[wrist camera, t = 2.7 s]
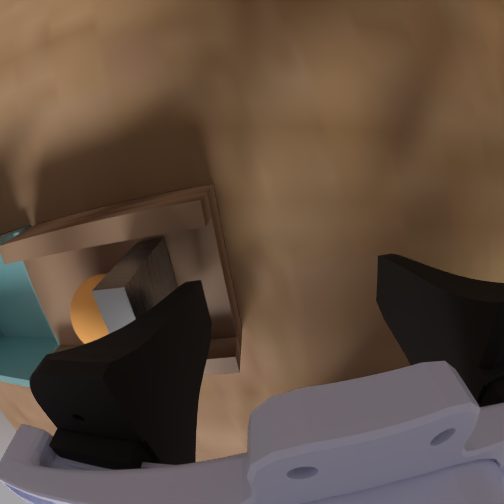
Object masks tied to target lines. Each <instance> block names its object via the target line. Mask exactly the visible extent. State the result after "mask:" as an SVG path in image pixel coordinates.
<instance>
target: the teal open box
mask: <svg viewBox="0 0 504 504" xmlns="http://www.w3.org/2000/svg"><path fill="white" fill-rule="evenodd" d="M29 228H31V226H27V227H24V228H21V229H18V230H14V231H11V232H8V233H5V234H2V235H0V245H1V244H3V243H4V242H6V241H8V240H10V239H11V238H13V237H15V236H16V235H18V234H20V233H22V232H23V231H25V230H27V229H29ZM59 345H60V344H59V342H58V340H57V338H56V336H55V334H54V332H53V330H52V328H51V326H50V324H49V322H48V320H47V318H46V316H45V313H44V311H43V309H42V307H41V305H40V302H39V300H38V298H37V295H36V293H35V290H34V288H33V286H32V283H31V281H30V278H29V275H28V273H27V270H26V267H25V265H24V262H23V261H19V262H14V263H9V264H5V265H4V262H3V259H2V257H1V254H0V381H2V382H6V383H11V384H16V385H21V386H26V387H30V382H29V379H30V377H31V375H32V373H33V372H34V370H35V369H36V368H37V366H38V365H39V364H40V362H41V361H42V360H43V358H44V357H45V356H46V355H47V354H51V353H54V352H55V351H56V349H57V348H58V347H59Z"/></svg>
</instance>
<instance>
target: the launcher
mask: <svg viewBox="0 0 504 504" xmlns="http://www.w3.org/2000/svg"><path fill="white" fill-rule="evenodd" d="M162 237H164V240H165V244H166V248H167V252H168V256H169V260H170V263H171V267H172V271H173V274H174V278H175V282H176V285H177V288H178V287H179V286H180V285H182V284H183V283H185V282H188V281H197V280H201V282H202V286H203V290H204V294H205V298H206V302H207V306H208V310H209V314H210V318H211V322H212V329H211V342H210V348H209V352H208V357H207V361H206V365H205V369H204V374H203V375H214V374H228V373H240V356H241V340H242V326H241V321H240V317H239V312H238V307H237V302H236V297H235V293H234V288H233V283H232V278H231V273H230V268H229V263H228V258H227V253H226V248H225V243H224V238H223V233H222V227H221V222H220V217H219V212H218V206H217V201H216V196H215V190H214V185H213V184H211V185H205V186H200V187H194V188H189V189H184V190H178V191H173V192H168V193H163V194H158V195H153V196H149V197H144V198H139V199H135V200H130V201H126V202H122V203H117V204H113V205H109V206H105V207H100V208H96V209H92V210H88V211H84V212H81V213H77V214H73V215H69V216H65V217H62V218H58V219H54V220H51V221H47V222H44V223H40V224H37V225H34V226H33V227H31V228H29V229H27V230H25V231H23V232H22V233H20V234H18V235H16V236H15V237H13V238H11V239H10V240H8V241H6V242H4V243H3V244H1V245H0V254H1V257H2V259H3V262H4V265H5V264H9V263H14V262H19V261H23V262H24V265H25V267H26V270H27V273H28V275H29V278H30V281H31V283H32V286H33V288H34V290H35V293H36V295H37V298H38V300H39V302H40V305H41V307H42V309H43V311H44V313H45V316H46V318H47V320H48V322H49V324H50V326H51V328H52V330H53V332H54V334H55V336H56V338H57V340H58V342H59V344H60V345H59V347H58V348H57V349H56V351H55V352H59V351H63V350H67V349H71V348H74V347H78V346H81V345H83V344H84V343H83V342H82V341H81V340H80V338H79V337H78V336H77V334H76V332H75V331H74V328H73V325H72V322H71V317H70V307H71V302H72V298H73V296H74V294H75V292H76V290H77V289H78V287H79V286H80V285H81V284H82V283H83V282H84V281H85V280H87V279H88V278H90V277H92V276H95V275H98V274H108V272H109V271H110V270H111V269H112V268H113V267H114V266H115V265H116V264H117V263H118V262H119V261H120V260H121V259H122V258H123V257H124V256H125V255H126V254H127V252H128V251H129V250H130V249H131V248H132V247H133V246H134V245H135V244H136V243H137V242H139V241H145V240H150V239H156V238H162ZM55 352H54V353H55Z"/></svg>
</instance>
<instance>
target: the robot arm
mask: <svg viewBox="0 0 504 504" xmlns="http://www.w3.org/2000/svg"><path fill="white" fill-rule="evenodd" d="M376 301H377V303H378V306H379V308H380V311H381V313H382V315H383V317H384V320H385V321H386V323H387V325H388V326H389V328H390V330H391V331H392V333H393V335H394V336H395V338H396V340H397V341H398V343H399V345H400V346H401V348H402V350H403V351H404V353H405V355H406V357H407V358H408V360H409V362H410V364H411V366H407V367H403V368H399V369H395V370H391V371H387V372H383V373H379V374H374V375H370V376H365V377H361V378H356V379H351V380H346V381H340V382H335V383H329V384H323V385H317V386H311V387H304V388H298V389H295V390H292V391H289V392H285V393H282V394H279V395H275V396H272V397H270V398H269V399H267V400H266V401H265V402H264V403H262V404H261V405H260V406H259V407H257V408H256V409H255V410H254V411H252V412H251V415H250V420H249V425H248V445H247V453H242V454H238V455H233V456H228V457H223V458H218V459H213V460H207V461H201V462H195V452H196V426H197V411H198V400H199V393H200V387H201V382H202V378H203V374H204V369H205V365H206V361H207V357H208V352H209V348H210V342H211V329H212V322H211V318H210V314H209V310H208V306H207V302H206V298H205V294H204V290H203V286H202V282H201V280H197V281H188V282H185V283H183V284H182V285H180V286H179V287H178V288H176V289H175V290H174V291H173V292H171V293H170V294H169V295H168V296H166V297H165V298H164V299H163V300H161V301H160V302H159V303H158V304H156V305H155V306H154V307H152V308H151V309H150V310H148V311H147V312H146V313H144V314H143V315H141V316H140V317H138V318H137V319H135V320H134V321H132V322H131V323H129V324H127V325H125V326H124V327H122V328H120V329H118V330H116V331H114V332H112V333H110V334H108V335H106V336H104V337H101V338H99V339H97V340H94V341H92V342H89V343H86V344H83V345H81V346H78V347H74V348H71V349H67V350H63V351H59V352H55V353H51V354H47V355H46V356H45V357H44V358H43V360H42V361H41V362H40V364H39V365H38V366H37V368H36V369H35V370H34V372H33V373H32V375H31V377H30V379H29V382H30V388H31V391H32V394H33V396H34V398H35V399H36V401H37V402H38V404H39V405H40V407H41V408H42V409H43V411H44V412H45V413H46V414H47V416H48V417H49V418H50V420H51V421H52V422H53V423H54V425H55V426H56V427H57V430H56V432H55V434H54V436H52V435H51V434H49V433H48V432H46V431H45V430H42V429H39V428H36V427H32V426H29V425H26V424H21V425H20V427H19V429H18V430H17V432H16V434H15V436H14V437H13V439H12V441H11V443H10V444H9V446H8V448H7V450H6V452H5V454H4V455H3V457H2V459H1V461H0V482H1V483H3V484H4V485H5V486H6V487H7V488H9V489H10V490H11V491H12V492H14V493H15V494H16V495H18V496H19V497H20V498H21V499H23V500H24V501H25V502H26V503H28V504H504V283H496V282H488V281H481V280H475V279H470V278H466V277H462V276H458V275H454V274H451V273H448V272H444V271H441V270H438V269H435V268H433V267H430V266H427V265H424V264H422V263H419V262H416V261H414V260H411V259H408V258H406V257H403V256H399V255H396V254H387V255H380V256H378V277H377V299H376Z"/></svg>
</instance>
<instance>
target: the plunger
mask: <svg viewBox="0 0 504 504" xmlns="http://www.w3.org/2000/svg"><path fill="white" fill-rule="evenodd" d="M176 288H177V285H176V282H175V278H174V274H173V271H172V267H171V263H170V260H169V256H168V252H167V248H166V244H165V240H164V237H162V238H156V239H150V240H145V241H139V242H137V243H136V244H135V245H134V246H133V247H132V248H131V249H130V250H129V251H128V252H127V254H126V255H125V256H124V257H123V258H122V259H121V260H120V261H119V262H118V263H117V264H116V265H115V266H114V267H113V268H112V269H111V270H110V271H109V272H108V274H107V275H106V276H105V277H104V278H103V279H102V280H101V281H100V282H99V283H98V284H97V286H96V287H95V288H94V289H93V290H92V293H93V295H94V298H95V301H96V303H97V306H98V308H99V310H100V313H101V315H102V318H103V320H104V322H105V325H106V327H107V329H108V331H109V334H110V333H112V332H114V331H116V330H118V329H120V328H122V327H124V326H125V325H127V324H129V323H131V322H132V321H134V320H135V319H137V318H138V317H140V316H141V315H143V314H144V313H146V312H147V311H148V310H150V309H151V308H152V307H154V306H155V305H156V304H158V303H159V302H160V301H161V300H163V299H164V298H165V297H166V296H168V295H169V294H170V293H171V292H173V291H174V290H175V289H176Z"/></svg>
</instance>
